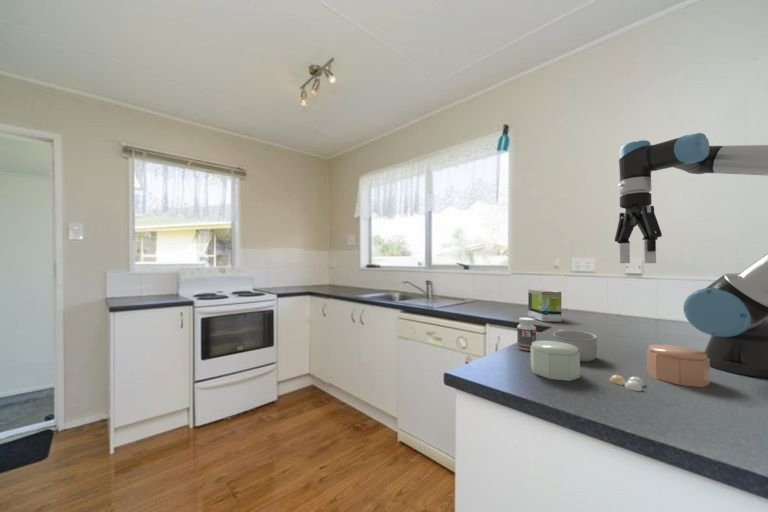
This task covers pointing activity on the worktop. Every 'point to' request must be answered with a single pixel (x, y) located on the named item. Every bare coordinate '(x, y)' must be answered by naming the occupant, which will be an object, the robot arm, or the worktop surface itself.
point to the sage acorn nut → (555, 360)
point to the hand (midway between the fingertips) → (636, 263)
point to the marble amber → (617, 380)
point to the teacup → (579, 342)
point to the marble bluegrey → (637, 380)
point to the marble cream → (633, 386)
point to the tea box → (544, 305)
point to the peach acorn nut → (678, 365)
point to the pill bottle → (526, 333)
